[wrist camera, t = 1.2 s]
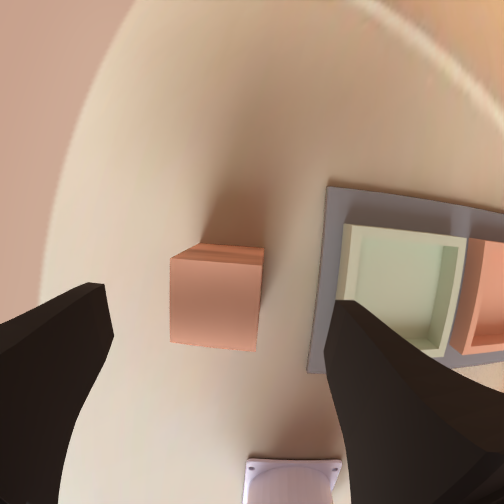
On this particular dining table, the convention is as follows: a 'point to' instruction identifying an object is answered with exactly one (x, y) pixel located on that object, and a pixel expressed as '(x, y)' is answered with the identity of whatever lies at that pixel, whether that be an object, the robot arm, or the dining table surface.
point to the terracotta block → (216, 296)
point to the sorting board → (414, 273)
